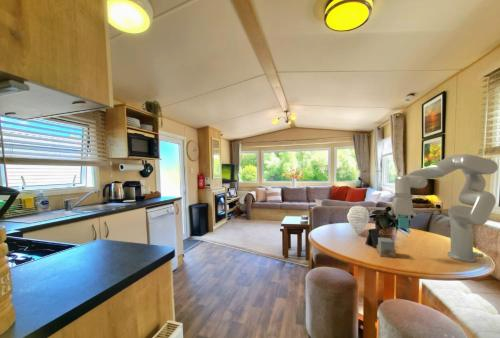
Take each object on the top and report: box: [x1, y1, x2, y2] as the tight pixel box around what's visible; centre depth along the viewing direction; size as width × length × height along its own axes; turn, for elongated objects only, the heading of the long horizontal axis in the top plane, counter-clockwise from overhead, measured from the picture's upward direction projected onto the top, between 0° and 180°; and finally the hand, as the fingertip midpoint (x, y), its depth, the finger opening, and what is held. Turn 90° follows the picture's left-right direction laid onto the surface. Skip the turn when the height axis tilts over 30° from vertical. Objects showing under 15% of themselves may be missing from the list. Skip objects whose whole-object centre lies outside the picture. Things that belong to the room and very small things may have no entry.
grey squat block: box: [378, 237, 395, 250], centre depth 134 cm, size 7×7×5 cm
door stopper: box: [365, 227, 381, 250], centre depth 149 cm, size 9×6×12 cm, turn 14°
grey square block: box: [376, 245, 397, 259], centre depth 134 cm, size 8×8×5 cm
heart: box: [346, 205, 370, 235], centre depth 174 cm, size 28×16×22 cm, turn 150°
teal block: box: [396, 215, 410, 230], centre depth 129 cm, size 5×5×6 cm
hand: (402, 225), depth 129 cm, fingers closed on teal block, 4 cm apart
